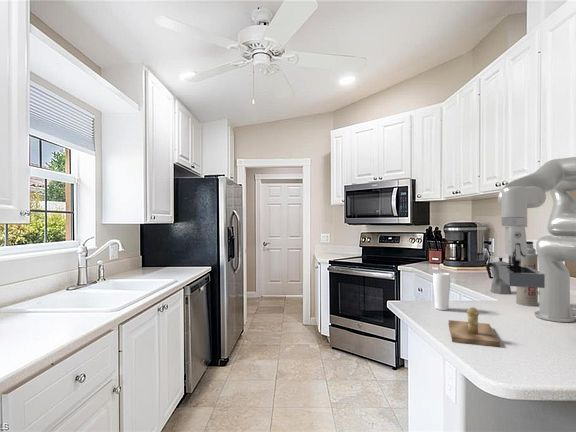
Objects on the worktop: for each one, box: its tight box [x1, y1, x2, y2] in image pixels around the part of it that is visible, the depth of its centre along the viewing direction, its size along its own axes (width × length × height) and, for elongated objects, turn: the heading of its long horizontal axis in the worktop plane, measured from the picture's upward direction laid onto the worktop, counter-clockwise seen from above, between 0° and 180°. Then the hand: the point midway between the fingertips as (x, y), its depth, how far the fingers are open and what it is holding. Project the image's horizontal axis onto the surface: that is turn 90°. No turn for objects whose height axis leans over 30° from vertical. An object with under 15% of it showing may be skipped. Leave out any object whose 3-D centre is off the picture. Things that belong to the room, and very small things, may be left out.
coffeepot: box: [485, 257, 512, 295], centre depth 188 cm, size 15×9×18 cm, turn 104°
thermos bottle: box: [515, 240, 539, 307], centre depth 164 cm, size 8×8×28 cm
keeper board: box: [448, 306, 501, 348], centre depth 121 cm, size 13×20×10 cm, turn 159°
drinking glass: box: [432, 272, 451, 311], centre depth 155 cm, size 7×7×15 cm
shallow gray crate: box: [499, 266, 545, 289], centre depth 117 cm, size 17×9×4 cm, turn 159°
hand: (514, 276), depth 124 cm, fingers closed on shallow gray crate, 1 cm apart
